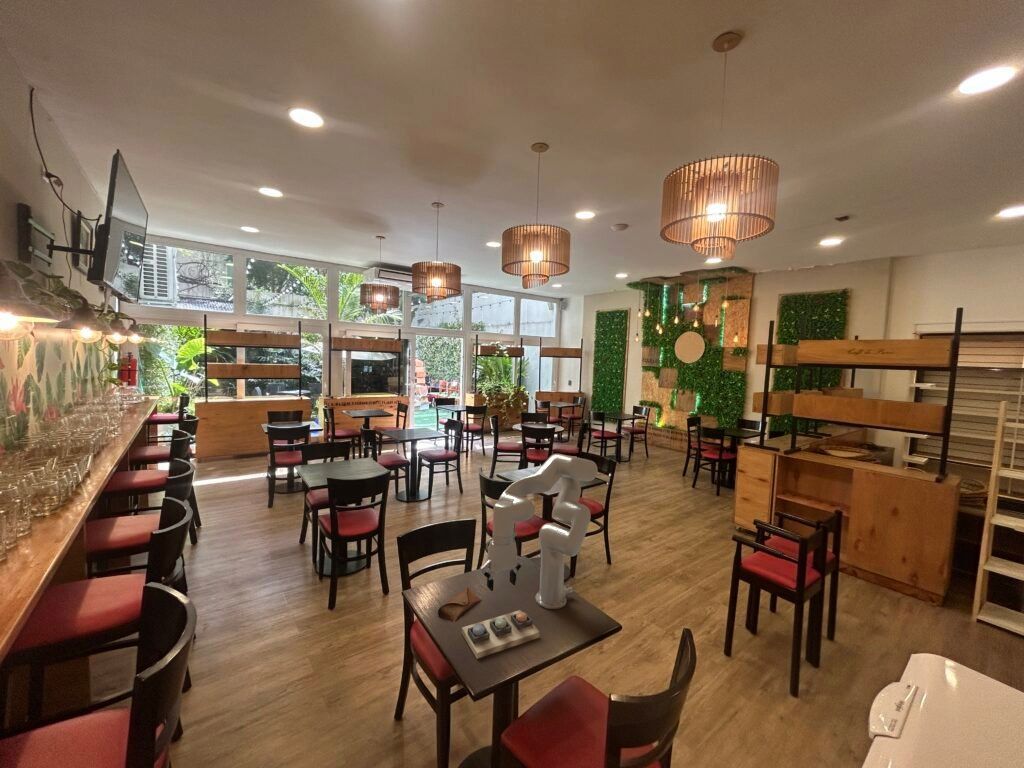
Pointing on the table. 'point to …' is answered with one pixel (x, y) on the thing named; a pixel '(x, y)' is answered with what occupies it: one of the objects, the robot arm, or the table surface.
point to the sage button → (500, 623)
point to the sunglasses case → (458, 605)
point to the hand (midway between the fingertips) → (501, 585)
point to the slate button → (478, 630)
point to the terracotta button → (521, 617)
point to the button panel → (500, 635)
